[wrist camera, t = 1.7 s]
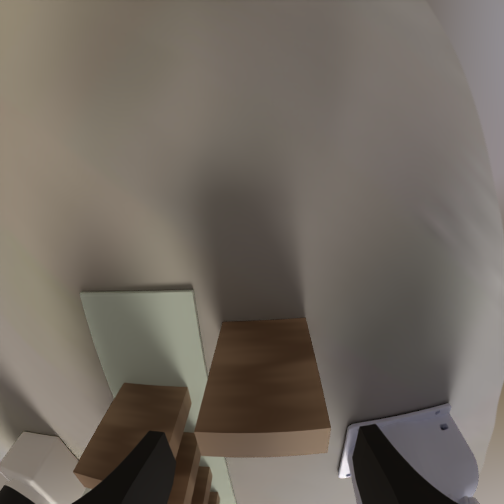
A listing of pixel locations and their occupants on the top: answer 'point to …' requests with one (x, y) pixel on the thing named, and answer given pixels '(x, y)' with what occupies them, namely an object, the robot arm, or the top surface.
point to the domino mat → (154, 351)
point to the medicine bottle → (40, 472)
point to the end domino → (263, 393)
